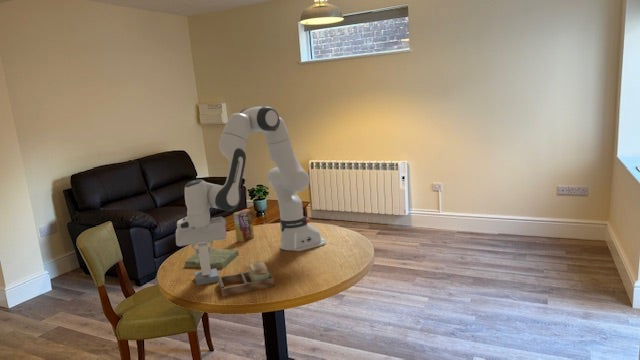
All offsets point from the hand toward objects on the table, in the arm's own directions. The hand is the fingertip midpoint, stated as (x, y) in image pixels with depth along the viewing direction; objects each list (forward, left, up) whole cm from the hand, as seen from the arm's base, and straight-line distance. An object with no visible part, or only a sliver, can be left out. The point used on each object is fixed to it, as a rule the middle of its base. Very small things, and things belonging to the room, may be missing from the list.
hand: (203, 252), depth 187 cm
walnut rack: (-14, +14, -12) cm, 23 cm away
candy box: (-24, -47, -12) cm, 54 cm away
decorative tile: (-4, -22, -13) cm, 26 cm away
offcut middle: (-20, +14, -10) cm, 26 cm away
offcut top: (-20, +14, -8) cm, 25 cm away
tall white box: (0, 0, -8) cm, 8 cm away
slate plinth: (0, 0, -12) cm, 12 cm away
